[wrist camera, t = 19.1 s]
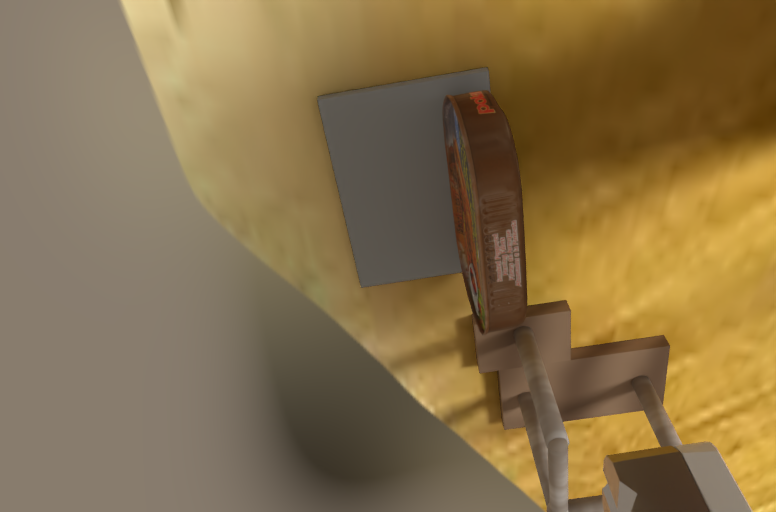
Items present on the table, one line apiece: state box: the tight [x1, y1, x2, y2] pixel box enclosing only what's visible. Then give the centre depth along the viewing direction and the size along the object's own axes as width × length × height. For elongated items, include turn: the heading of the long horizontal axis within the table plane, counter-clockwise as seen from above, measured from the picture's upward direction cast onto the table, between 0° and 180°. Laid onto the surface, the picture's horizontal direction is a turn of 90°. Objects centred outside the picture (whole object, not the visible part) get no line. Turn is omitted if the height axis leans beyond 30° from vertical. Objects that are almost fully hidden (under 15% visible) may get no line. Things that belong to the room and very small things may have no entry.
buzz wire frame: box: [472, 300, 682, 512], centre depth 47 cm, size 14×12×12 cm
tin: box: [442, 90, 527, 335], centre depth 38 cm, size 15×3×8 cm, turn 9°
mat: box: [317, 67, 490, 288], centre depth 42 cm, size 10×14×1 cm
